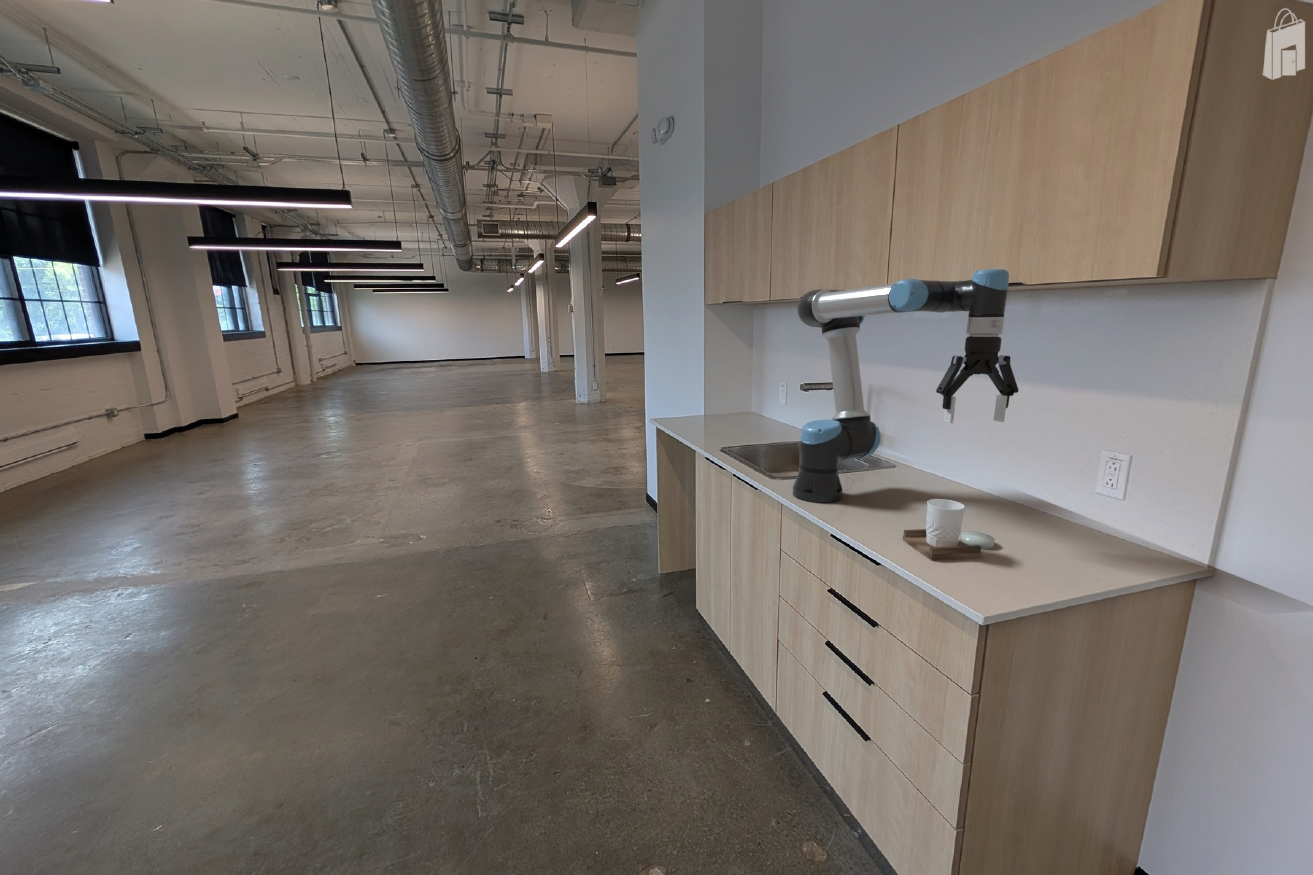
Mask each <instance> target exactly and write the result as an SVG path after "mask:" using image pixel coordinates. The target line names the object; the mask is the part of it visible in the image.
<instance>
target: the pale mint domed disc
mask: <svg viewBox="0 0 1313 875" xmlns="http://www.w3.org/2000/svg"><path fill="white" fill-rule="evenodd" d="M960 541H962V542H963V543H965V544H967V545H969V546H972V545H979V546H981V550H991V549H993V548H995V547H994V546H995V537H993V536H991V535H989V534H986V533H985V532H979V531H964V532H962V533H961V534H960Z"/></svg>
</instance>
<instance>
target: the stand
mask: <svg viewBox="0 0 1313 875" xmlns="http://www.w3.org/2000/svg"><path fill="white" fill-rule="evenodd" d="M902 541H903V542H905V543H906V544H907V545H909V546H910V547H912V548H913V549H915V550H916V551H917V552H919V553H920V554H922V555H923V556H924V557H926V558H928V559H929V560H930V561H944V560H962V559H981V556H982V552H981V551H982V549H981V546H979V545H972V546H969V545H967V544H965V543H963V542H962V541H961V539H959V540H958V546H951V547H934V546H931V545H929V544H928V543H927V542H926V528H923V529H922V528H919V529H904V530H903V535H902Z"/></svg>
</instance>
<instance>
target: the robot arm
mask: <svg viewBox="0 0 1313 875" xmlns="http://www.w3.org/2000/svg"><path fill="white" fill-rule="evenodd" d="M1009 277H1010V274H1009V271H1008V270H1007V269H1004V268H1002V269H1001V268H994V269H993V268H992V269H991V268H990V269H989V268H988V269H980V270H975V271H974V272H973V274H972V277H971V279H969V280H968V279H967V280H955V281H950V280H947V281H946V280H927V279H926V280H924V279H916V278H908V279H900V280H899V281H897V282H893V283H886V284H880V285H872V286H865V287H859V288H853V289H852V288H851V289H822V288H821V289H817V288H816V289H812V290H809V291H807V292H806V293H804V294H802V296H801V297H800V299H799V301H798V304H797V307H796V308H797V315H798V318H799V319H800V321H801V322H802V323H803V324H805V325H807V326H809V327H810V328H811V327H812V328H821V334H822V337H823V338H825V339H826V340H827V345H828V355H829V362H830V371H831V380H832V381H831V382H832V388H833V390H832V391H833V399H834V406H835V407H834V408H835V414H834V415H833V416H832V418H831V419H817V420H811V421H809V422H806V423H805V424H803V426H802V429H801V435H800V449H799V451H800V454H799V469H798V473H797V475H796V477H795V480H794V483H793V486H792V495H793V497H795V498H797V497H798V498H797V499H799V498H800V500H802V499H804V500H803V501H806V500H807V501H806V502H811V501H812V502H813V503H822V502H826V503H835V502H839V501H841V500H842V499H843V496H844V494H843V493H844V489H843V486H842V482H841V479H840V475H839V474H840V473H839V469H840V467H839V466H840V462H841V461H846V460H847V461H848V460H854V459H863V458H865V457H870V456H872V455H873V454H874V453H875V452H876V450H878V448H879V446H880V443H881V431H880V429H879V426H877V424H876V423H875V422H873V421H871V414H870V413H868V412H867V411H866V410H865V406H864V396H863V388H862V379H861V368H860V361H859V353H858V345H857V344H858V343H857V335H858V333H859V332H860V331H861V324H862V323H863V322H864V321H865V319H864V318H865V317H867V316H874V315H886V314H887V315H889V314H897V313H900V314H901V313H911V312H912V313H914V312H932V313H947V312H948V313H951V312H952V313H954V312H968V318H967V325H966V332H965V333H966V335H968V336H966V338H965V343H964V353H965V355H964V356H962V355H953V356H952V357H951V360H950V361H951V362H950V365H949V367H948V368H947V370H946V372H945V374H944V376H943V377H942V379H941V380H940V382H939V384H938V386H937V388H936V390H935V392H936V393H938V394H939V395H941V396H943V399H942V409H944V412H943V422H945V423H949V424H954V416H955V408H956V398H957V397H956V396H954V395H955V394H956V393H957V392H958V390H959V389H960V388H961V387H962V386H963V385H964V384H965V382H967V380H968V379H969V378H970V377H972V376H973V375H986V376H988V378H989V379H990V380H991V382H992V384H993V385H994V387H995V388H996V390H997V391H998V392H999V394H996V398H995V404H994V405H995V407H994V412H993V413H994V414H993V421H994V422H995V421H996V422H1001V423H1005V417H1006V410H1007V409H1008V407H1009V405H1010V404H1009V403H1010V397H1013V396H1014V395H1015V394H1017V393H1019V387H1018V384H1017V381H1016V378H1015V375H1014V373H1013V369H1012V365H1011V355H1003V354H1001V355H999V352H1001V347H1002V337H1001V336H1000V335H1003V331H1004V330H1003V329H1004V323H1005V322H1004V321H1005V311H1006V305H1007V299H1008V298H1007V297H1008V291H1009V289H1010V288H1009V280H1010V278H1009ZM963 365H964V366H963ZM997 365H998V368H999V369H998V368H997ZM962 366H963V367H962ZM961 368H962V369H961ZM1000 373H1001V374H1000Z"/></svg>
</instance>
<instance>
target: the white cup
mask: <svg viewBox="0 0 1313 875" xmlns="http://www.w3.org/2000/svg"><path fill="white" fill-rule="evenodd" d="M965 509H966V506H965V504H963V503H961V502H959V501H955V500H951V499H945V498H944V499H943V498H942V499H941V498H932V499H929V500H927V501H926V515H925V516H926V519H925V529H926V542H927V543H928V544H929V545H931V546H934V547H951V546H958V540H960V539H959V538H960V536H961V531H962V527H963V520H964V514H965Z"/></svg>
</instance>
